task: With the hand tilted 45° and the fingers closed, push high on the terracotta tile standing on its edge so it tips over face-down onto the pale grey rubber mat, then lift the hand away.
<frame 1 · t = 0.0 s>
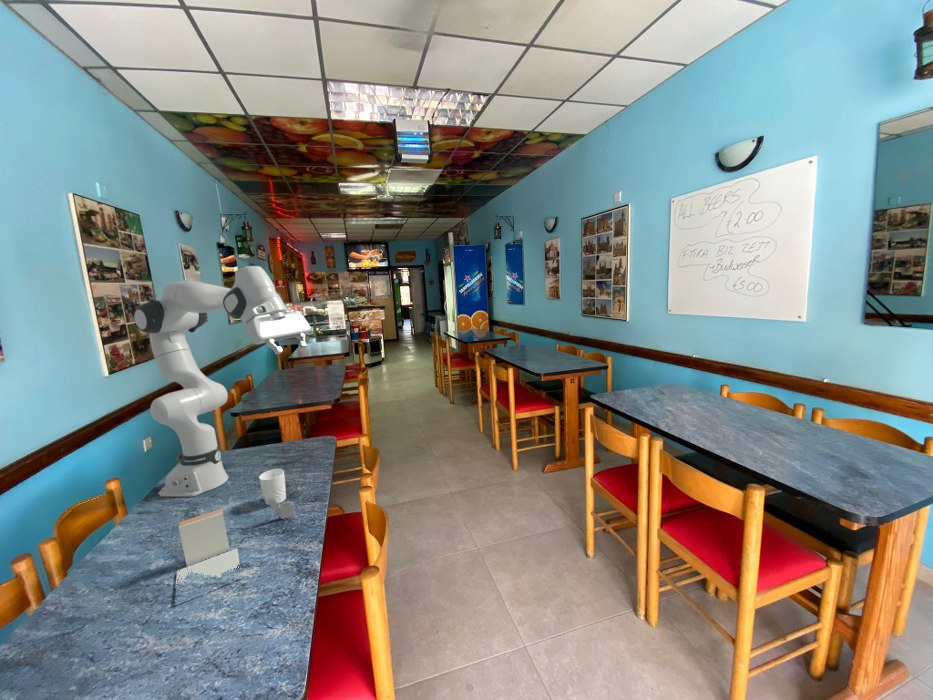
hand: (292, 350, 118), 54 cm above the table, tool tilted 30°, fingers open, 8 cm apart
white cup: (275, 500, 135), on the table
tile: (208, 556, 108), on the table
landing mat: (209, 575, 100), on the table
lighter: (283, 518, 124), on the table
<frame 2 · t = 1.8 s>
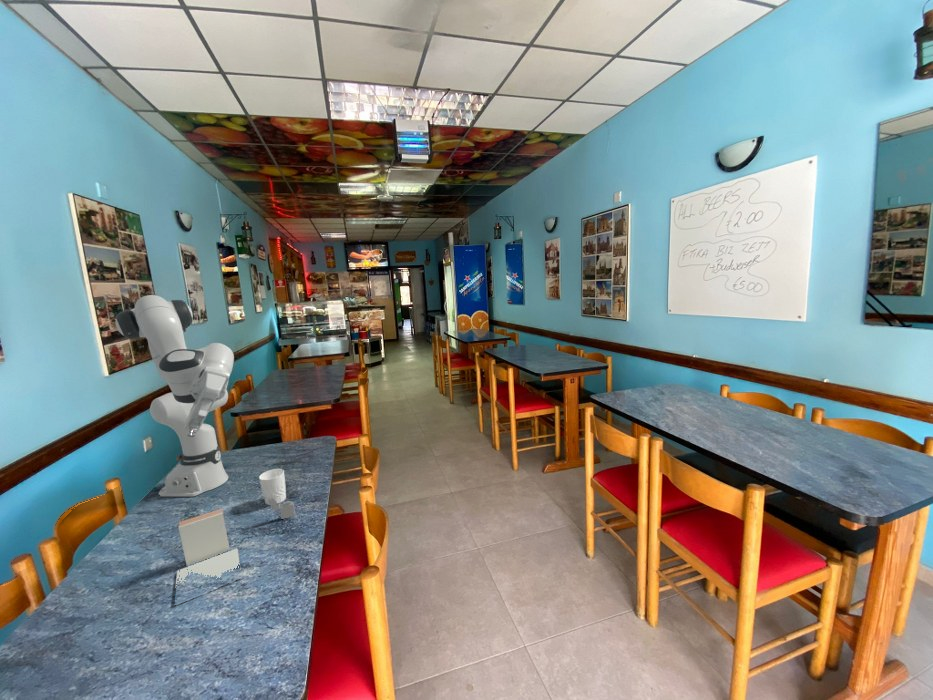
hand: (195, 426, 102), 38 cm above the table, tool tilted 55°, fingers open, 8 cm apart
nothing on the table moved.
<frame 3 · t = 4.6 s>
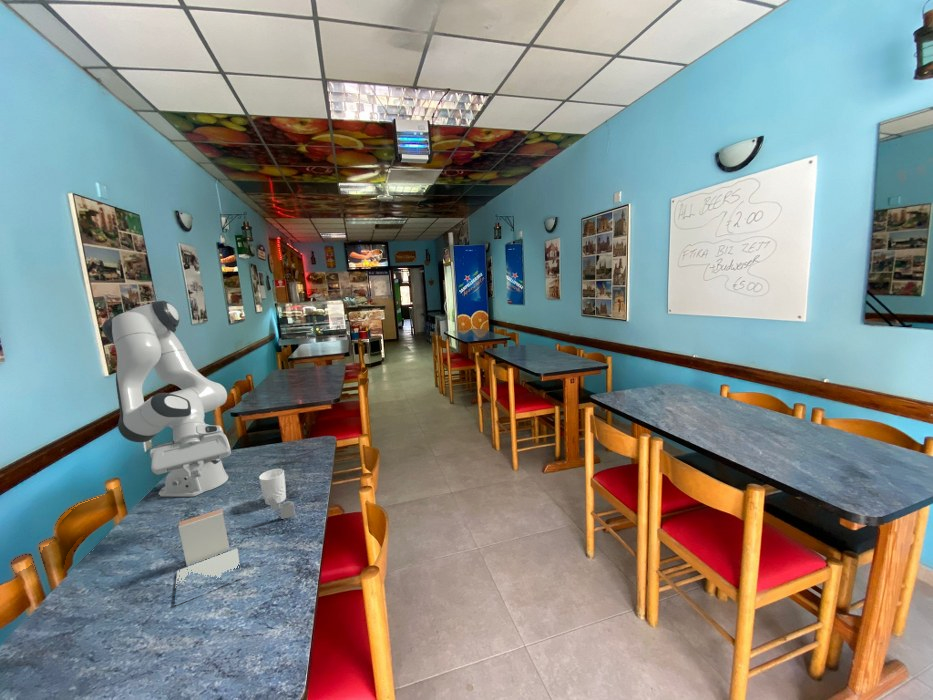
hand: (195, 477, 116), 18 cm above the table, tool tilted 45°, fingers closed
nothing on the table moved.
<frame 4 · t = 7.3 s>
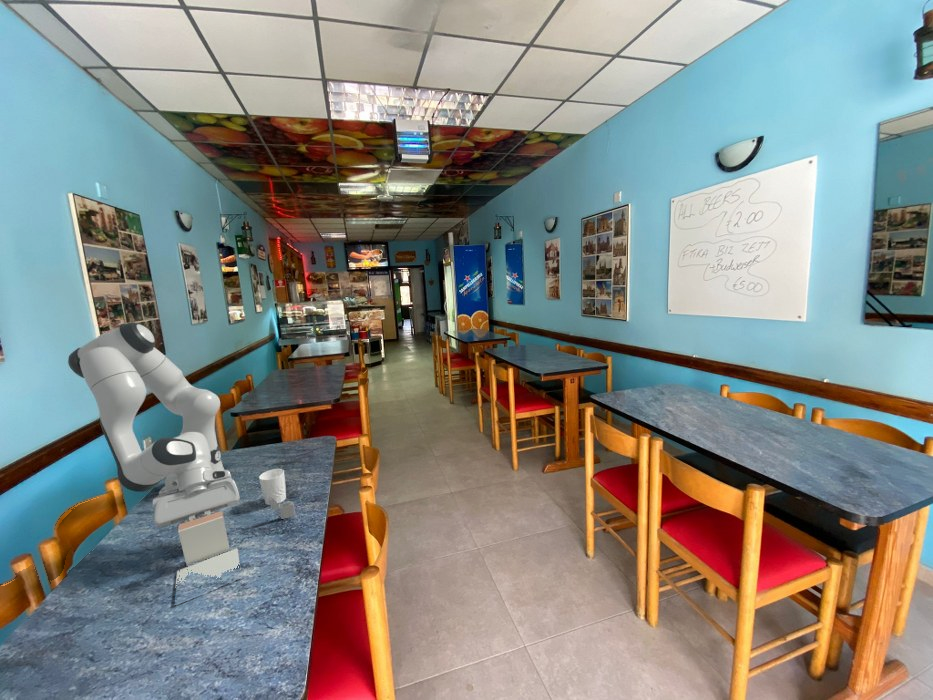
hand: (201, 529, 107), 8 cm above the table, tool tilted 45°, fingers closed
tile: (208, 555, 108), on the table, tilted 10°
everything else where it was.
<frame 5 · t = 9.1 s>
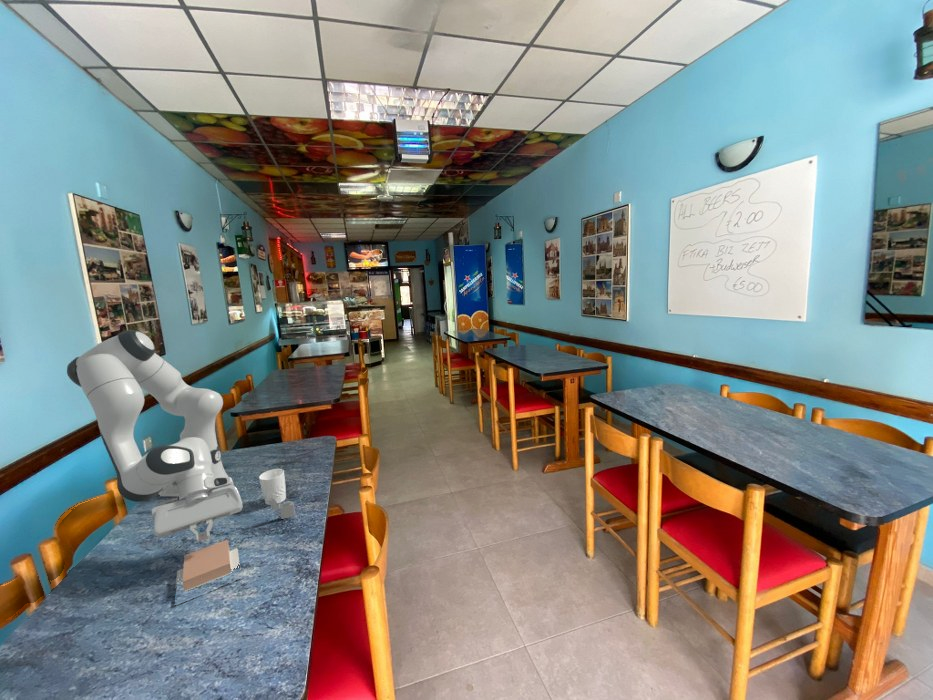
hand: (203, 539, 103), 8 cm above the table, tool tilted 45°, fingers closed
tile: (207, 551, 107), point 2 cm above the table, tilted 90°, touching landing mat
everything else where it was.
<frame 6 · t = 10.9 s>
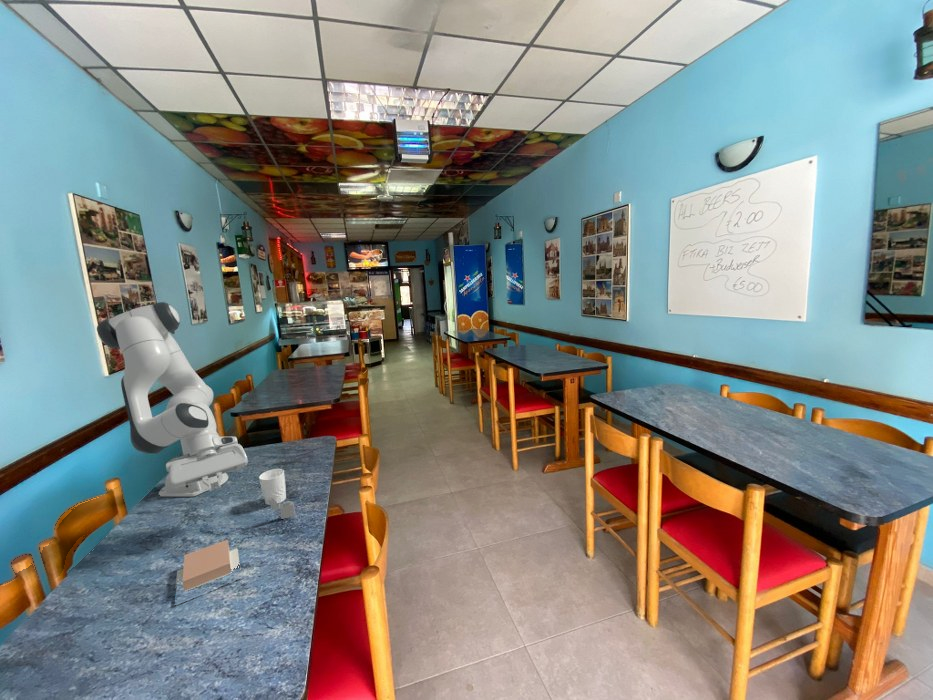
hand: (215, 489, 116), 15 cm above the table, tool tilted 45°, fingers closed
nothing on the table moved.
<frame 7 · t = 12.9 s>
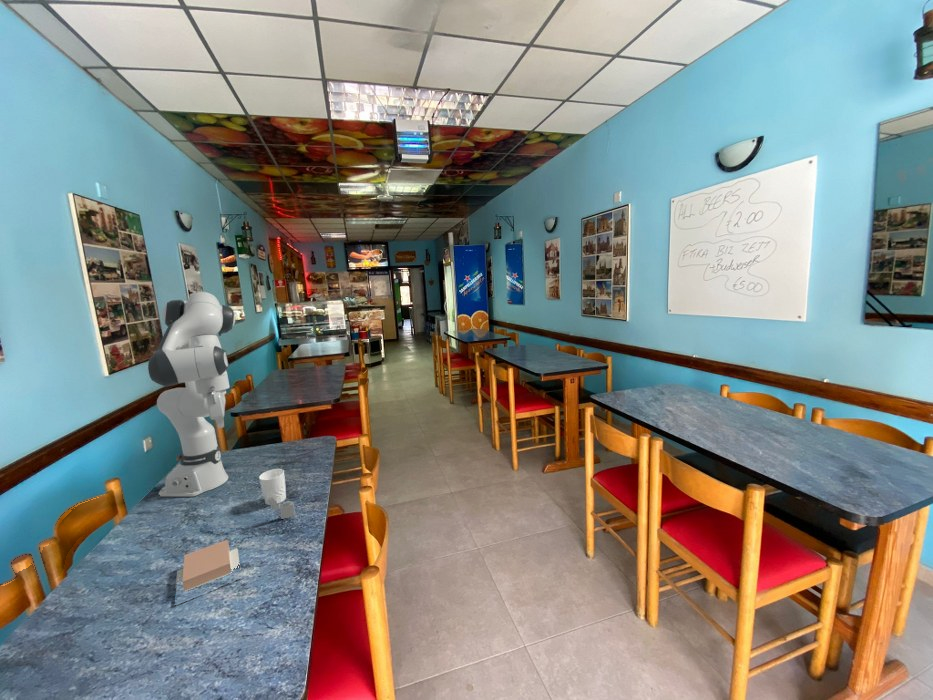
hand: (221, 426, 123), 31 cm above the table, tool pointing down, fingers closed
nothing on the table moved.
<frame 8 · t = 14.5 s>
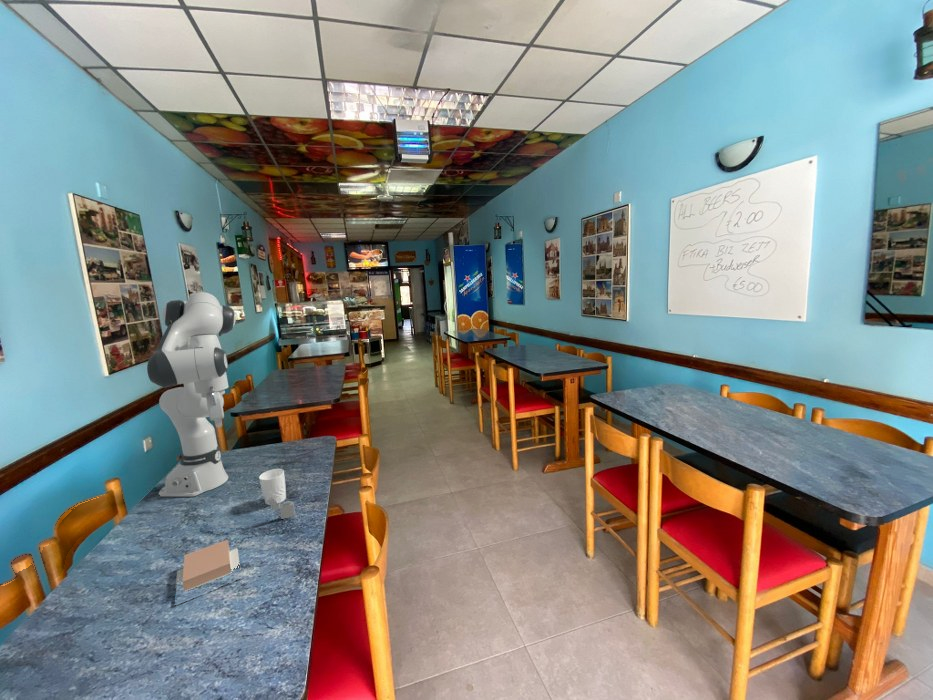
hand: (219, 426, 123), 31 cm above the table, tool pointing down, fingers closed
nothing on the table moved.
at the end: tile tilted 90°; tile inside the target area (2.0 cm from its centre), point 2.1 cm above the table; tile touching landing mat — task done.
